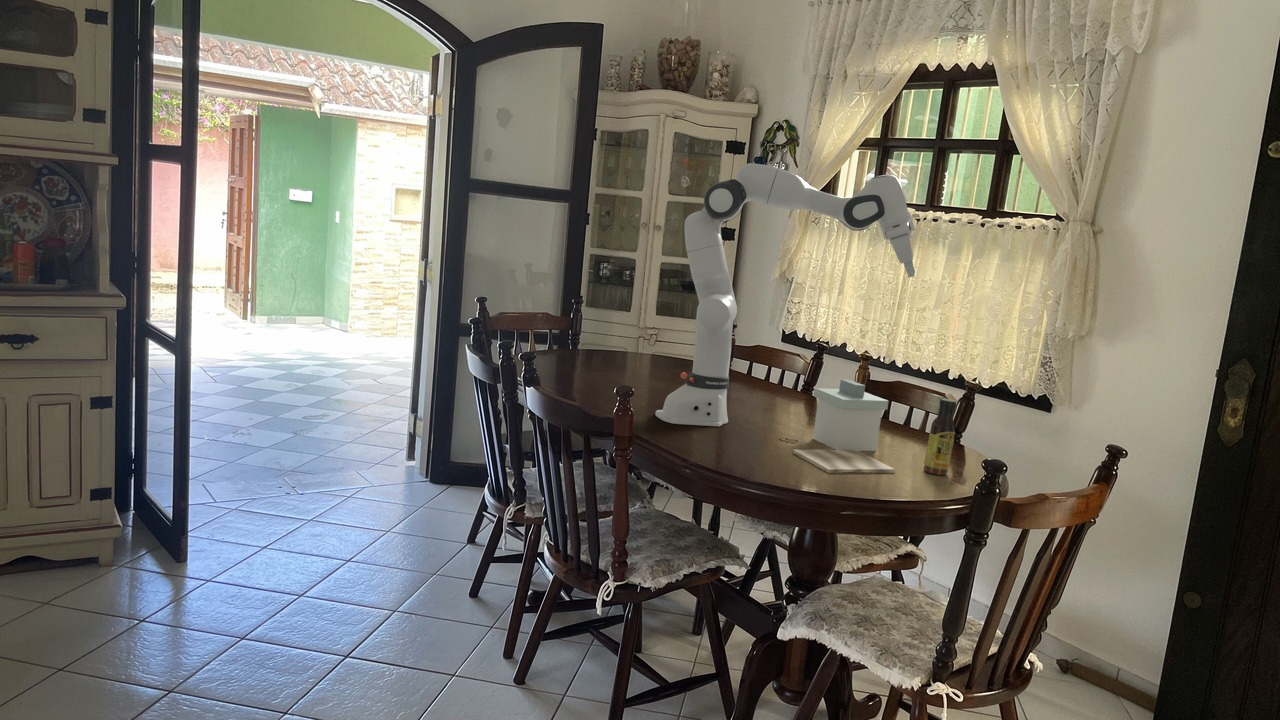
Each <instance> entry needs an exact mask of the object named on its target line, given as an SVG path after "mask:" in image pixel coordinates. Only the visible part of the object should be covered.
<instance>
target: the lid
mask: <svg viewBox="0 0 1280 720" xmlns="http://www.w3.org/2000/svg"><path fill="white" fill-rule="evenodd" d="M865 389H866V385H865V384H862V383H859V382H856V381H853V380H851V379H840V383H839V388H825V387H824V388H823V387H822V388H821V387H819V388H818V387H815V388H814V391H813V397H814V398H816V399H818V398H819V399H821V400H823V401H826V402H828V403H830V404H833V405H835V406H838V407H840V408H849V409H882V410H888V408H889V402H890V401H889V400H887V399H884V398H882V397H879V396H877V395H873V394H872V393H869V392H866V391H865Z"/></svg>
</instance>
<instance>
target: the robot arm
mask: <svg viewBox="0 0 1280 720" xmlns="http://www.w3.org/2000/svg"><path fill="white" fill-rule="evenodd" d="M747 202H748V203H749V202H756V203H760V204H763V205H766V206H769V207H774V208H777V209H784V210H803V211H804V210H805V211H811V212H814V213H817V214H821V215H824V216H826V217H827V216H828V217H831V218H834V219H836V220H838V221H839V222H840V223H842V224H843V225H844V227H846V228H847V229H849V230H851V231H855V232H861V231H864V230H867V229H868V228H869V227H871V226H872V225H873V224H874V223H875V222H878V223H879V226H880V229H881V233H882V236H883V239H884V240H888V241H889V244H890V245H891V246H892V248H893V250H894V253H895V255H896V257H897V259H898V262H899V263H900V264H903V266H904V268H905V271H906V274H907V278H913V277H915V272H916V270H915V267H914V262H913V260H914V256H915V255H914V252H913V248H912V245H911V239H912V238H913V234H912V232H914V231H915V230H916V228H915V225H914V221H913V219H912V214H911V212H910V211H909V209H908V205H907V197H906V195H905V191H904V188H903V187H902V183H901V182H900V180H899V178H898V177H897V176H896V175H893V174H884V175H877V176H874V177H871V178H870V179H869V180H868V181H867V183H866V184H865V185H864V186H863V188H861V190H859V191H858V192H857V193H855V195H853V196H852V197H841V196H838V195H834V194H831V193H828V192H826V191H825V192H824V191H821V190H818V189H816V188H815V187H812V186H811V185H809V183H807V182H806V181H805V180H804V179H803V178H802V177H801V176H799V175H796V174H795V173H793V172H790V171H788V170H785V169H782V168H780V167H775V166H771V165H767V164H766V165H765V164H760V163H746V164H744V165H742V167H740V169H739V170H738V172H737V174H736V177H735V178H733V179H728V180H724V181H719V182H716V183H713V184H712V185H710V186H709V187H708V189H706V192H705V194H704V197H703V205H704V206H703V208H702V209H701V210H698V211H695V212H693V213H691V214H689V215H688V216H687V217H686V218H685V220H684V241H685V249H686V250H685V251H686V256H687V259H688V263H689V270H690V274H691V279H692V283H693V284H694V288H695V292H696V295H697V299H698V302H699V303H698V305H697V309H696V317H695V338H694V353H693V354H694V355H693V362H692V364H693V365H692V371H691V372H690V373H689V374H688V373H687V372H685V371H684V372H683V371H682V372H681V373H680V378H681V379H683V380H685V384H683V385H682V386H680V387H678V388H677V389H676V390H673V392H671V393H669V394H668V395H667V396H666V398H665V400H664V403H663V408H662V409H657V410H655V416H656V417H657V418H658V419H659V420H661V421H663V422H666V423H670V424H672V425H675V424H676V425H688V426H689V425H690V426H706V427H721V426H722V425H725V424H727V423H729V418H728V417H729V416H728V411H727V407H728V405H727V396H728V395H727V394H728V392H729V387H730V385H729V384H730V376H729V374H730V373H729V371H730V363H731V357H732V356H731V354H732V339H733V330H734V329H733V327H734V321H735V319H736V317H737V314H738V306H737V302H736V298H735V293H734V288H733V284H732V280H731V277H730V272H729V269H728V263H727V258H726V253H725V252H726V251H725V250H724V249H725V248H724V244H723V243H724V242H723V239H722V225H724V224H726V223H728V222H729V221H731V220H733V219H735V218H736V217H738V216H739V215H740V213H741V212H742V210H743V207H744V205H745V204H746V203H747Z"/></svg>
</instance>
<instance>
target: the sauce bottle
mask: <svg viewBox="0 0 1280 720" xmlns="http://www.w3.org/2000/svg"><path fill="white" fill-rule="evenodd" d="M956 406H957V401H956V400H954V399H950V398H939V407H938V408H939V409H938V412H937V416H936V417H935V418H934V419H933V421H932V423H931V425H930V426H931V427H930V431H929V435H928V441H927V445H926V451H925V456H924V462H923V463H924V466H923V471H925V472H926V473H928V474H932V475H938V476H945V475H947V474H948V470H949V469H950V462H951V457H952V452H953V447H954V442H955V437H956V436H955V435H956V430H955V424H954V421H955V420H954V414H955V413H954V412H955V408H956Z"/></svg>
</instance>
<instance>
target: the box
mask: <svg viewBox="0 0 1280 720" xmlns="http://www.w3.org/2000/svg"><path fill="white" fill-rule="evenodd" d="M882 412H883V409H849V408H840V407H838V406H835V405H833V404H830V403H828V402H826V401H823V400H821V399H819V398H817V406H816V414H815V422H814V428H813V434H812V435H813V437H812V439H813V440H815V441H817V442H819V443H821V444H822V443H823V445H824V444H825V446H826V445H827V447H828V446H829V448H830V447H831V448H830V449H832V448H833V449H832V450H834V449H835V450H857V451H859V452H876V451H877V446H878V440H879V434H880V426H881V420H882V414H883V413H882Z"/></svg>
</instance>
